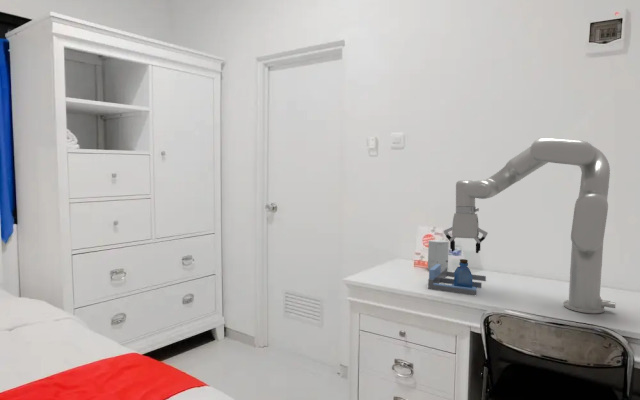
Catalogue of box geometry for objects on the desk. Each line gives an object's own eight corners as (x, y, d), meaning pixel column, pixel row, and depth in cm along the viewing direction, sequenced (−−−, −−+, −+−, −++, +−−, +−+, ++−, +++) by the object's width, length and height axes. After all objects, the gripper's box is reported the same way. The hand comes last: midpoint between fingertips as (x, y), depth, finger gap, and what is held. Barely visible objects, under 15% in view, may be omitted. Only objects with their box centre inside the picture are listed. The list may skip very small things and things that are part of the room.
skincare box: (435, 272, 207) (436, 242, 206) (427, 269, 213) (427, 240, 212) (448, 270, 211) (449, 240, 210) (439, 268, 217) (440, 239, 216)
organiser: (485, 280, 193) (486, 262, 193) (476, 295, 170) (476, 275, 169) (443, 275, 202) (443, 258, 202) (428, 288, 179) (428, 270, 178)
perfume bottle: (469, 286, 181) (470, 258, 181) (472, 290, 175) (473, 261, 174) (453, 286, 182) (454, 258, 181) (456, 290, 176) (457, 261, 175)
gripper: (488, 210, 176) (488, 251, 177) (445, 209, 184) (445, 248, 185) (486, 211, 169) (486, 254, 170) (441, 210, 177) (441, 251, 178)
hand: (465, 251), depth 177 cm, fingers open, 9 cm apart
